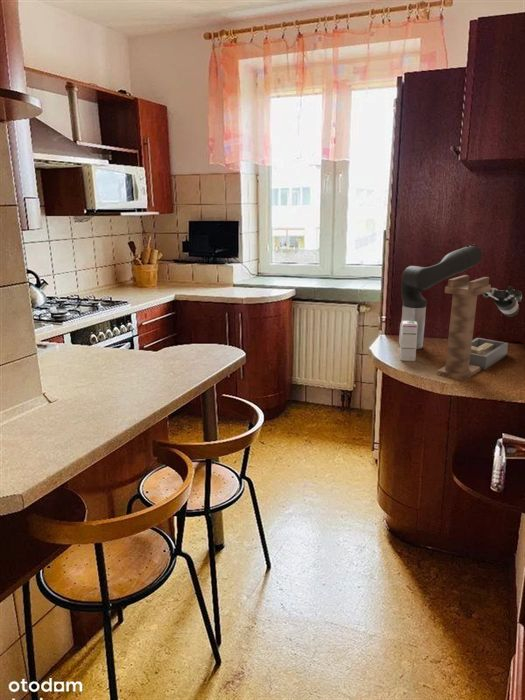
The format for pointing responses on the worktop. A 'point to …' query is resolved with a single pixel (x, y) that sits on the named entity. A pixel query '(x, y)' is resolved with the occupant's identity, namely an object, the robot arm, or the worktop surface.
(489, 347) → the peg
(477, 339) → the tray
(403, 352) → the syrup box
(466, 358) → the stand
